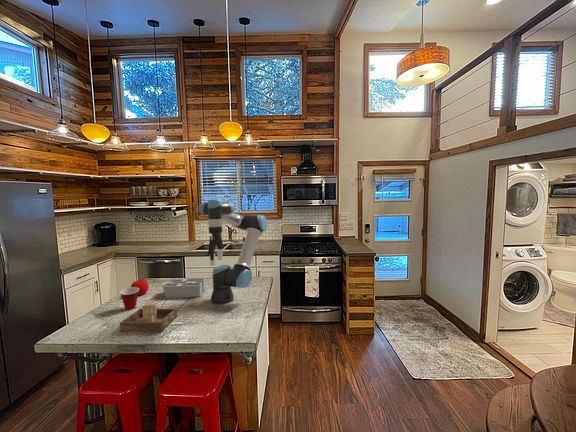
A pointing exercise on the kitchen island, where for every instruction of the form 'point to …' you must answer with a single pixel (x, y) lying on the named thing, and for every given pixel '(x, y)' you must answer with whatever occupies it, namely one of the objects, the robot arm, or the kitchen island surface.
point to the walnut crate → (137, 325)
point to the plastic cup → (129, 297)
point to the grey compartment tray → (184, 288)
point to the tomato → (141, 286)
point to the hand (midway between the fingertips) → (216, 262)
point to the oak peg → (149, 312)
